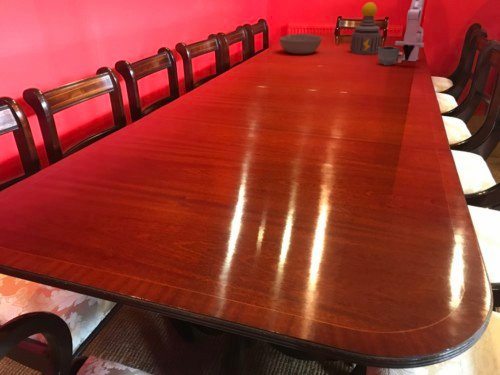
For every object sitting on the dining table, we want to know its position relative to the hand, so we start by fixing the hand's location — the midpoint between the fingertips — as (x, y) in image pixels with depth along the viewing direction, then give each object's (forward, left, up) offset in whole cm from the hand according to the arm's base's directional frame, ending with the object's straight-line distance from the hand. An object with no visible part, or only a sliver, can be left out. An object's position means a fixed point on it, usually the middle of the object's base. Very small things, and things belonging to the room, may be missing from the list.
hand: (406, 59), depth 216 cm
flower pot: (0, -11, -4) cm, 11 cm away
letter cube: (-12, -8, -4) cm, 15 cm away
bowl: (-11, -71, -4) cm, 72 cm away
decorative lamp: (-33, -35, -4) cm, 48 cm away
